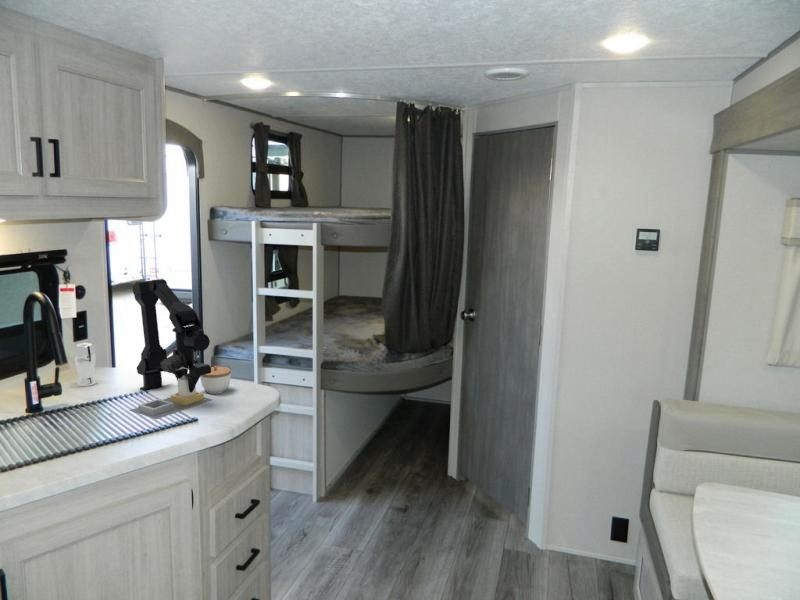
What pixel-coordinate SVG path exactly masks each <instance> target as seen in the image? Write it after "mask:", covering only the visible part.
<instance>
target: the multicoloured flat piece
mask: <svg viewBox="0 0 800 600" xmlns="http://www.w3.org/2000/svg"><path fill="white" fill-rule="evenodd" d="M211 401H213V399H212V398H209V397H205V394H204V392H199V391H197V390H196V395H193V396H190V397H187V398H184V397H181V396H178V392H177V393H173V394H170V397H167V398H164V399H162V398H158V399H154V400H151V401H146V402H144V403H141V404H140V403H139V404H138V405H137V406H138V407H135V408H131V409H129V410H128V411H129V412H132V413H136V414H139V415H142V416H145V417H149V418H151V419H155V420H158V419H161V418H164V417H167V416H170V415H174V414H175V413H179V412H182V411H184V410H185V411H186V410H188V409H190V408H194V407H196V406H200V405H203V404H206V403H207V402H211Z"/></svg>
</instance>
